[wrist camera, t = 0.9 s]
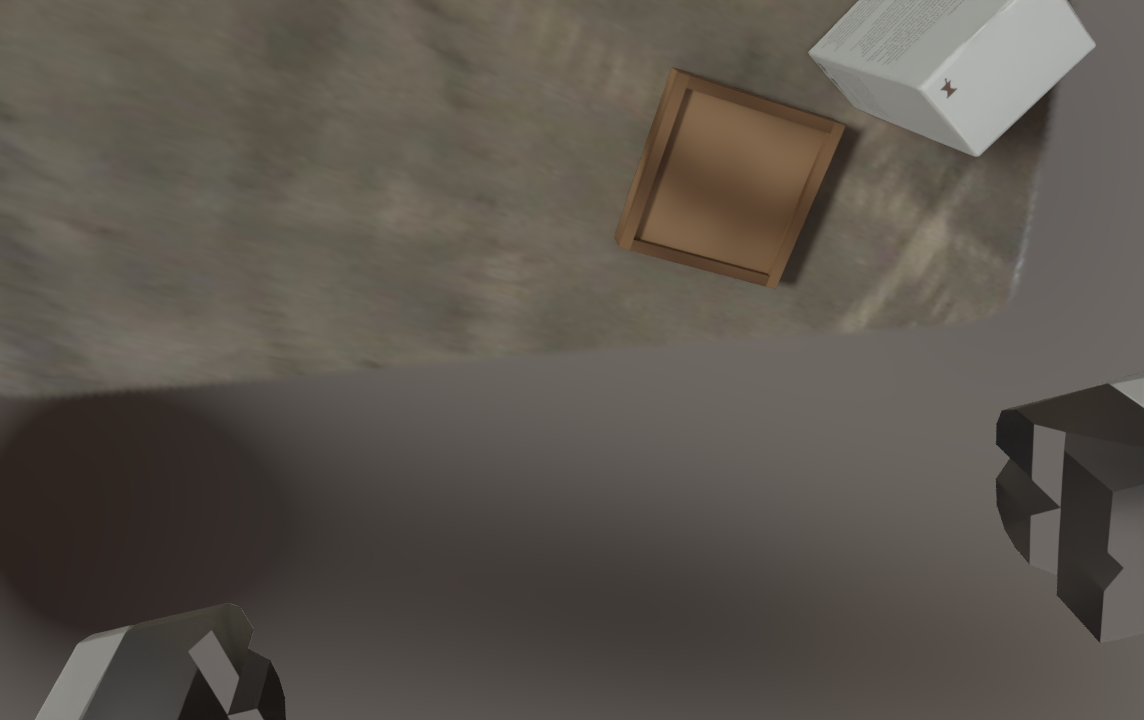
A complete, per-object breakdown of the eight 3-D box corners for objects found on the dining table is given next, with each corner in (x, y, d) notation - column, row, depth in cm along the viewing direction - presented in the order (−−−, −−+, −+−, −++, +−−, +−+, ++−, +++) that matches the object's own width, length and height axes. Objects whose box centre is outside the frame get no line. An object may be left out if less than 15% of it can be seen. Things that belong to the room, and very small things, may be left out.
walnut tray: (671, 67, 43) (678, 72, 41) (833, 119, 45) (845, 125, 43) (614, 237, 46) (619, 247, 45) (766, 278, 48) (775, 289, 47)
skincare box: (854, 110, 45) (975, 163, 34) (804, 52, 43) (914, 89, 33) (946, 20, 43) (1103, 46, 33) (898, -44, 42) (1046, -39, 31)
